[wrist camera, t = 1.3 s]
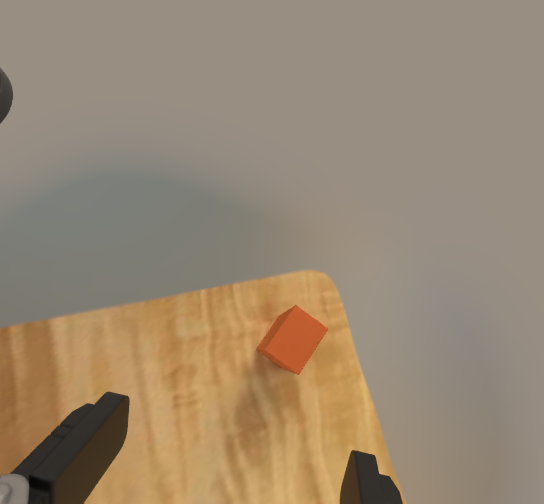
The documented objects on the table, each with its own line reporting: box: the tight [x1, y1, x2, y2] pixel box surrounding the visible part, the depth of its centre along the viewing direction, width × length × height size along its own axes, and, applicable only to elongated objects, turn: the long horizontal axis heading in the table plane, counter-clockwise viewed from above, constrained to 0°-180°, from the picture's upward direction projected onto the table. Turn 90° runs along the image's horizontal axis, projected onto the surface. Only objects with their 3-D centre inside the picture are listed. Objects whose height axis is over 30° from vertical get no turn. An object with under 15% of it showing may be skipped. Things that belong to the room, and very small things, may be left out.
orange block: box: [257, 305, 328, 375], centre depth 30 cm, size 4×3×9 cm
